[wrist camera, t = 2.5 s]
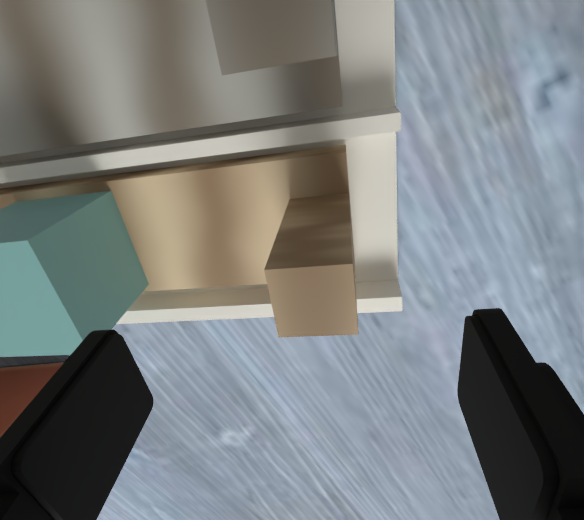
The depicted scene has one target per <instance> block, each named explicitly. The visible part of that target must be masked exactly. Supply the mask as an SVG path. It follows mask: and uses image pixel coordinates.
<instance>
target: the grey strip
mask: <svg viewBox="0 0 584 520" xmlns="http://www.w3.org/2000/svg"><path fill="white" fill-rule="evenodd" d="M341 106H342V90H341V77H340V64H339V52H338V39H337V26H336V13H335V0H0V156H6V155H13V154H20V153H27V152H33V151H40V150H47V149H54V148H61V147H68V146H74V145H81V144H88V143H95V142H102V141H109V140H115V139H122V138H129V137H136V136H143V135H150V134H157V133H163V132H170V131H177V130H184V129H191V128H198V127H204V126H211V125H218V124H225V123H232V122H239V121H245V120H252V119H259V118H266V117H273V116H280V115H287V114H293V113H300V112H307V111H314V110H321V109H328V108H334V107H341Z"/></svg>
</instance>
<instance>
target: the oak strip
mask: <svg viewBox="0 0 584 520" xmlns="http://www.w3.org/2000/svg"><path fill="white" fill-rule="evenodd" d="M104 191H112V194H113V196H114V199H115V201H116V204H117V206H118V209H119V211H120V213H121V216H122V218H123V221H124V223H125V226H126V228H127V231H128V233H129V236H130V238H131V241H132V243H133V246H134V248H135V251H136V253H137V256H138V258H139V261H140V263H141V266H142V268H143V271H144V273H145V276H146V278H147V281H148V283H149V285H148V286H147V287H146V288H145V290H144V291H143V292H145V291H161V290H177V289H193V288H209V287H225V286H241V285H258V284H267V286H268V290H269V295H270V300H271V304H272V309H273V313H274V318H275V323H276V327H277V332H278V337H300V336H328V335H356V334H358V318H357V301H356V283H355V278H356V272H355V257H354V245H353V232H352V219H351V206H350V193H349V180H348V167H347V154H346V145H339V146H331V147H323V148H315V149H307V150H299V151H292V152H284V153H276V154H268V155H260V156H252V157H244V158H237V159H229V160H221V161H213V162H205V163H197V164H189V165H182V166H174V167H166V168H158V169H150V170H142V171H135V172H127V173H119V174H111V175H103V176H95V177H87V178H80V179H72V180H64V181H56V182H48V183H40V184H32V185H25V186H17V187H9V188H1V189H0V209H2V208H4V207H6V206H8V205H11V204H13V203H15V202H19V201H28V200H36V199H45V198H53V197H61V196H70V195H78V194H87V193H95V192H104Z"/></svg>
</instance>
